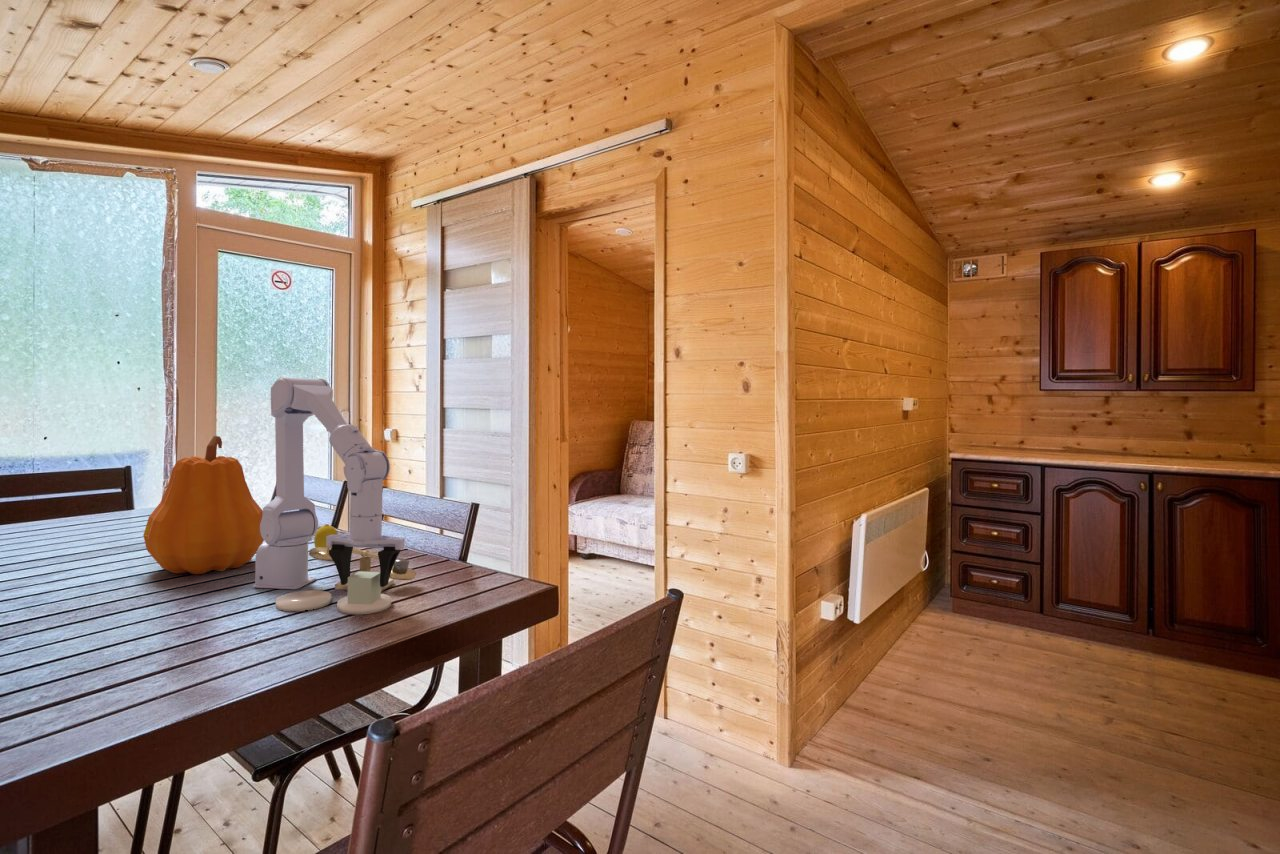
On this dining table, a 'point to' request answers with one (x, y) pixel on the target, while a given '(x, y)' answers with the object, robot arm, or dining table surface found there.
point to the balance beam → (399, 567)
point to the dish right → (364, 606)
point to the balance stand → (365, 567)
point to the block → (364, 588)
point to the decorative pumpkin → (205, 516)
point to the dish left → (303, 600)
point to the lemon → (324, 535)
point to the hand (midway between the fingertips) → (364, 584)
